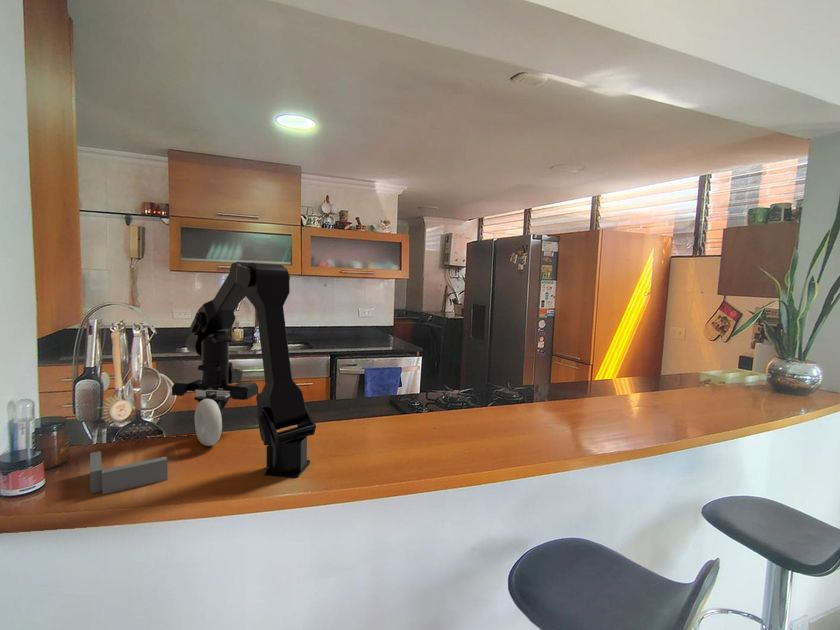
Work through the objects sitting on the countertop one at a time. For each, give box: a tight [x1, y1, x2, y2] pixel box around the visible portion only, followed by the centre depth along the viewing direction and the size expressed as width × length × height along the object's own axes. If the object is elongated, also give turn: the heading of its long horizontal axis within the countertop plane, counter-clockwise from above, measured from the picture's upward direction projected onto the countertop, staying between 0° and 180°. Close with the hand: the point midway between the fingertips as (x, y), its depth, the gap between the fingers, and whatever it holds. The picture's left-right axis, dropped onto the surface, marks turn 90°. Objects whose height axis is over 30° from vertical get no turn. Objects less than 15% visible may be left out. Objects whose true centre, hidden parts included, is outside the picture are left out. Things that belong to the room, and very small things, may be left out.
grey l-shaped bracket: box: [89, 450, 169, 495], centre depth 69 cm, size 15×7×4 cm, turn 84°
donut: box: [194, 399, 223, 447], centre depth 87 cm, size 10×4×10 cm, turn 44°
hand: (215, 424), depth 97 cm, fingers closed
